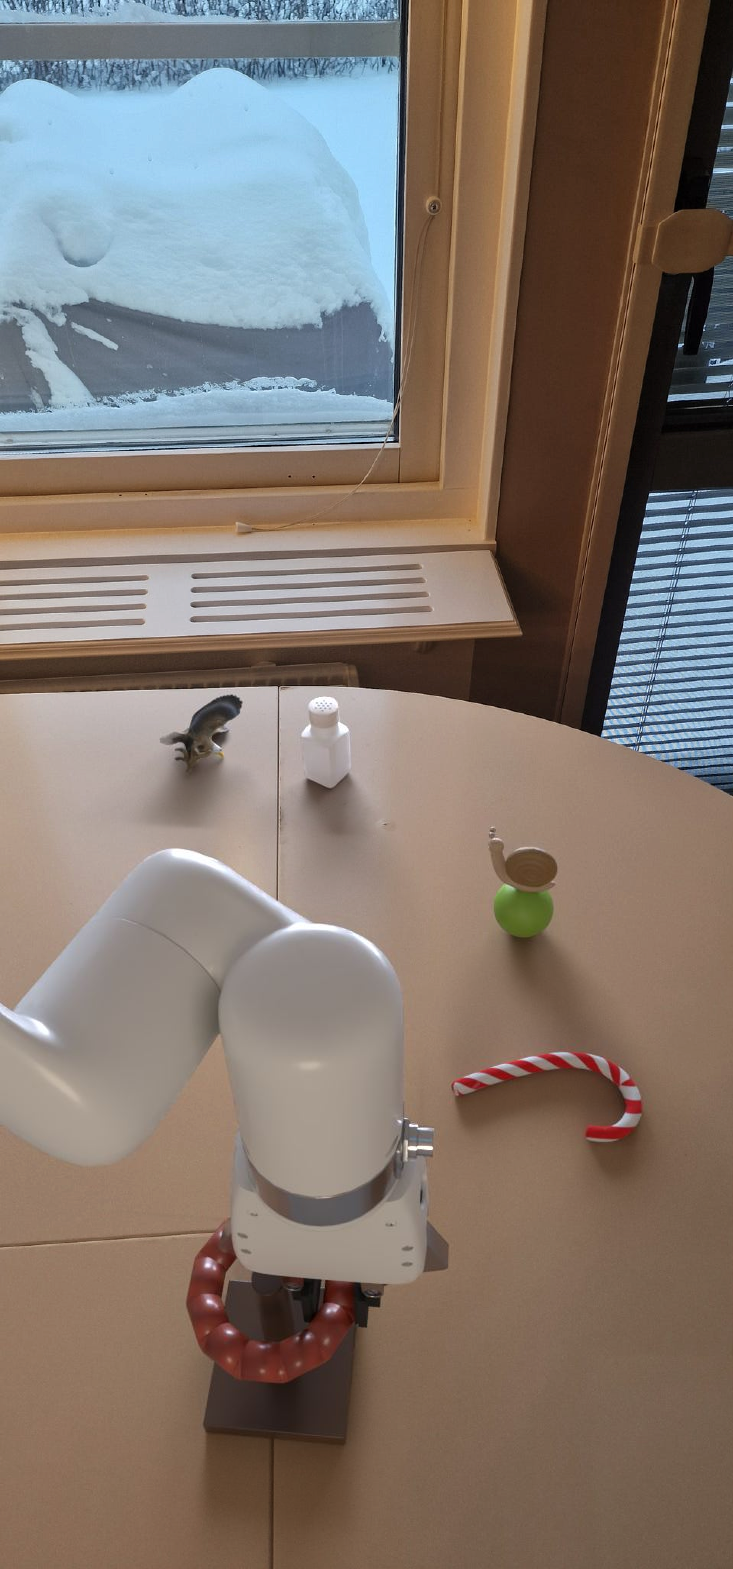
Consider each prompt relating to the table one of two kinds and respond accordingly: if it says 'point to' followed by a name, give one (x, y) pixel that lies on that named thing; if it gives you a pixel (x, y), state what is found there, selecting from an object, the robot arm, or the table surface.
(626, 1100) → the candy cane
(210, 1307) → the ring
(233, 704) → the eagle figurine
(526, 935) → the snail figurine
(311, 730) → the pepper shaker
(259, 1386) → the post
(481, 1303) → the table surface
